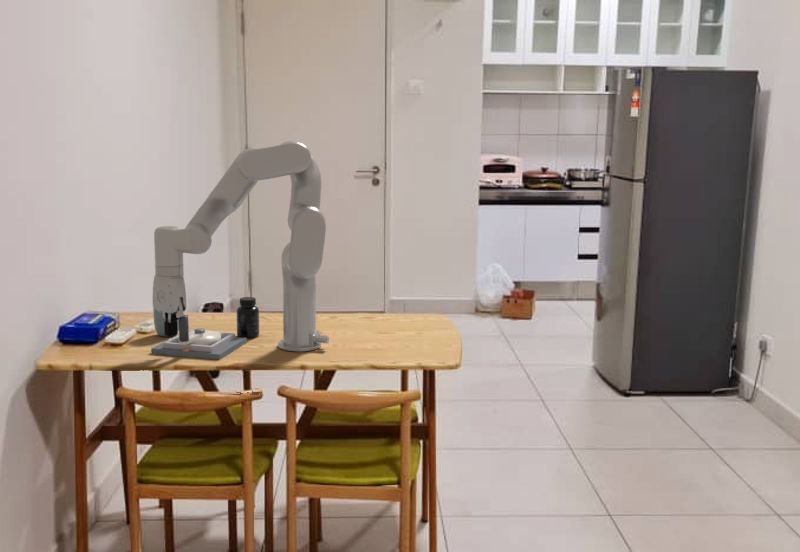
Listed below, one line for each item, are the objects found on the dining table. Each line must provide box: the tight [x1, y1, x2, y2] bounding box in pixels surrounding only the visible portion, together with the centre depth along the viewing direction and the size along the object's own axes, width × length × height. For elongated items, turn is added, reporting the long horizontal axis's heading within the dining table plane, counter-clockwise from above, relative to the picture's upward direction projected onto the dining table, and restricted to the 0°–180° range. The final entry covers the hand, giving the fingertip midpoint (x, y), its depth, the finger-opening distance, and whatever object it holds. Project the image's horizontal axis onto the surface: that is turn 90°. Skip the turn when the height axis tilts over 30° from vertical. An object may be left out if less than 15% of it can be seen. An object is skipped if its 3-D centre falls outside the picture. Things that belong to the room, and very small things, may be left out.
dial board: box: [150, 329, 247, 360], centre depth 227 cm, size 21×18×3 cm
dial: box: [178, 314, 221, 346], centre depth 224 cm, size 16×12×10 cm
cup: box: [152, 306, 179, 337], centre depth 239 cm, size 8×8×10 cm
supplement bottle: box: [236, 296, 260, 340], centre depth 240 cm, size 7×7×12 cm
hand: (171, 334), depth 220 cm, fingers closed
